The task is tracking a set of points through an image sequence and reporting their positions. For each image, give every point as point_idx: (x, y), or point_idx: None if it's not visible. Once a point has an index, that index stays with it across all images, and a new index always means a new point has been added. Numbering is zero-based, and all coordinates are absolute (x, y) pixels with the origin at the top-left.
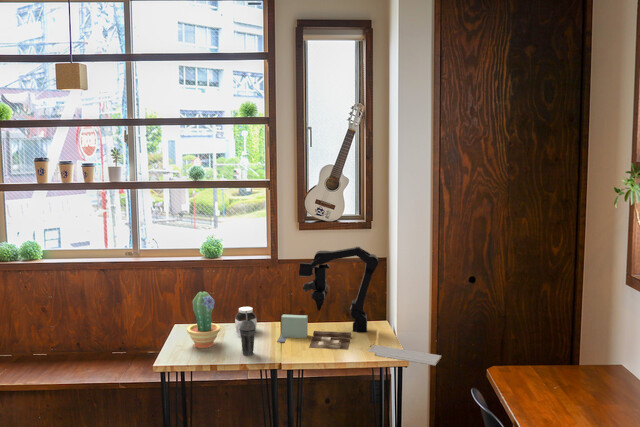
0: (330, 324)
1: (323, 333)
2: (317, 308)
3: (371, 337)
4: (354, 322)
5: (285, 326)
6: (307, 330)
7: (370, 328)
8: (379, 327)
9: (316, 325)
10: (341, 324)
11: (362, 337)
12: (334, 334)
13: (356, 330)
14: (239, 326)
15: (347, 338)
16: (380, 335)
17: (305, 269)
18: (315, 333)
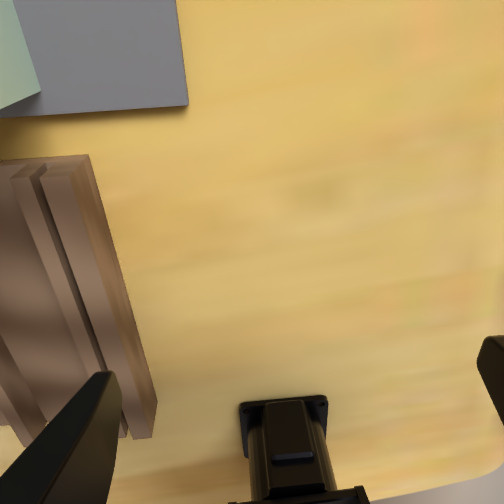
0: (466, 231)
1: (48, 275)
2: (67, 406)
3: (205, 471)
4: (268, 476)
5: None
6: (4, 104)
7: (365, 449)
8: (384, 475)
9: (447, 108)
10: (457, 307)
11: (192, 442)
12: (81, 350)
13: (256, 430)
14: None
15: (18, 436)
16: (249, 493)
17: None
18: (21, 200)
